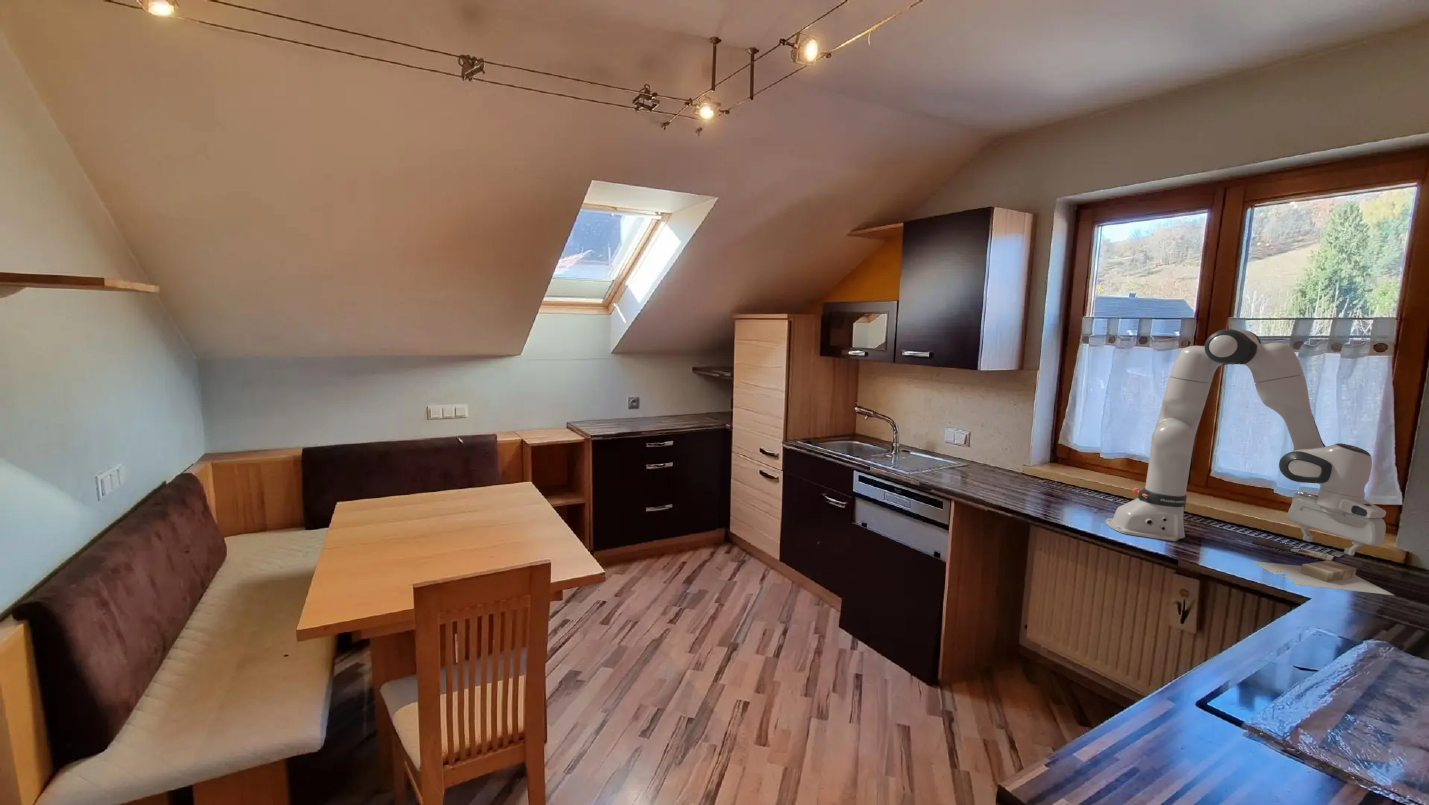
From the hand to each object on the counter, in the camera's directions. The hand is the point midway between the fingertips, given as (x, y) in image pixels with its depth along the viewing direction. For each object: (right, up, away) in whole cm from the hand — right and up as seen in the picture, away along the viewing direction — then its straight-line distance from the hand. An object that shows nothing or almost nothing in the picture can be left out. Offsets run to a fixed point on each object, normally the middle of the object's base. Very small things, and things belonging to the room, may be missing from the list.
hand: (1327, 547), depth 171 cm
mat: (-3, -9, 0) cm, 9 cm away
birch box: (+7, -7, +3) cm, 10 cm away
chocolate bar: (+10, -7, +21) cm, 25 cm away
